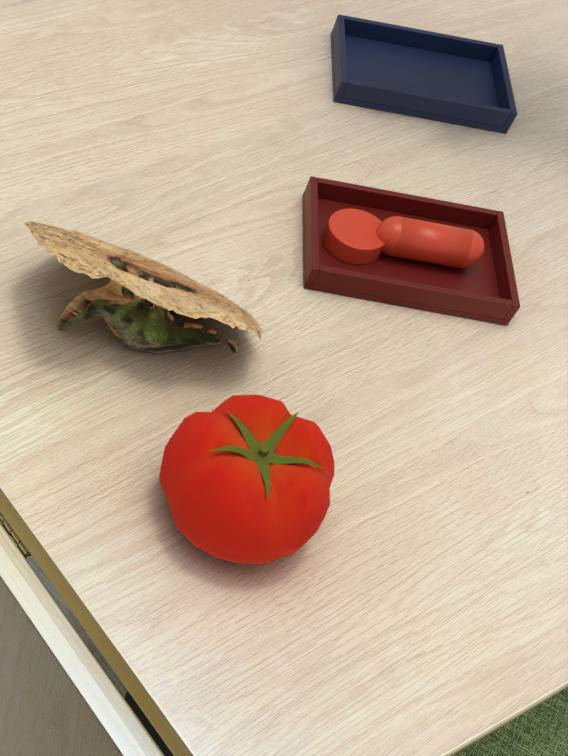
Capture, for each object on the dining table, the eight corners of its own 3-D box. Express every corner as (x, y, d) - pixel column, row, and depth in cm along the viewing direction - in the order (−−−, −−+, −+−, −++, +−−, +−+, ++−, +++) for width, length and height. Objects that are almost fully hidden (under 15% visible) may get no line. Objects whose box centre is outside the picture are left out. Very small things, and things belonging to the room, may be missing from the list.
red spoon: (470, 246, 81) (488, 217, 79) (476, 287, 79) (495, 258, 76) (321, 219, 81) (334, 188, 79) (322, 259, 79) (336, 228, 76)
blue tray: (492, 64, 97) (503, 44, 96) (506, 133, 91) (517, 114, 90) (330, 33, 97) (338, 13, 95) (333, 101, 91) (341, 81, 89)
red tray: (491, 230, 84) (503, 211, 82) (507, 325, 77) (520, 306, 76) (302, 195, 83) (310, 175, 82) (303, 288, 77) (312, 268, 76)
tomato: (181, 596, 61) (213, 530, 55) (131, 454, 67) (155, 380, 60) (338, 570, 63) (386, 504, 57) (277, 435, 69) (314, 362, 63)
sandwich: (175, 326, 82) (225, 245, 78) (230, 432, 72) (291, 346, 68) (-23, 256, 75) (21, 162, 71) (7, 363, 65) (60, 262, 60)
